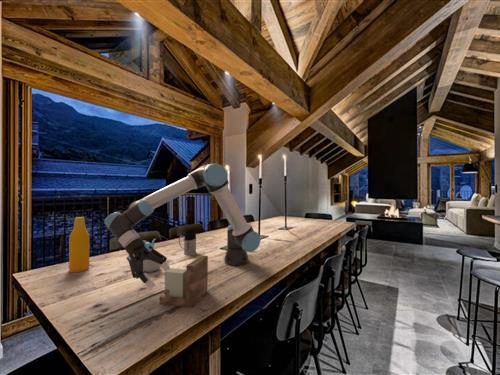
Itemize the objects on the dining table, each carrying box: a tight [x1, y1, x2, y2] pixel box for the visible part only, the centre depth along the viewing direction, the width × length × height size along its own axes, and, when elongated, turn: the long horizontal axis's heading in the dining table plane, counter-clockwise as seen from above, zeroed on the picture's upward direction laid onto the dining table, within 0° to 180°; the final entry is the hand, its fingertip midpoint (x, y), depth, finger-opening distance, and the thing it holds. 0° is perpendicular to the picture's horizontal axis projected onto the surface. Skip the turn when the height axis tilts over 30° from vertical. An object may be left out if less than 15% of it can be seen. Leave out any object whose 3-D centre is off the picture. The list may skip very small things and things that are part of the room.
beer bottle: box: [68, 216, 90, 273], centre depth 130 cm, size 9×9×29 cm
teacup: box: [143, 259, 161, 273], centre depth 132 cm, size 14×11×8 cm
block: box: [163, 267, 186, 298], centre depth 97 cm, size 8×5×12 cm, turn 79°
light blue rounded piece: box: [143, 238, 156, 249], centre depth 156 cm, size 13×13×10 cm
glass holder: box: [178, 230, 197, 256], centre depth 160 cm, size 9×14×15 cm, turn 148°
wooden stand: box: [159, 254, 209, 308], centre depth 100 cm, size 14×14×16 cm
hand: (163, 280), depth 99 cm, fingers open, 13 cm apart
